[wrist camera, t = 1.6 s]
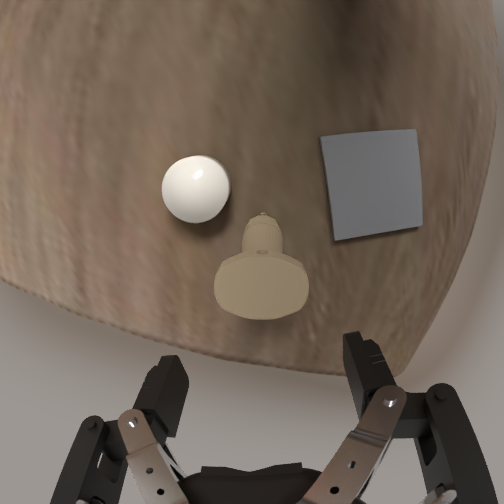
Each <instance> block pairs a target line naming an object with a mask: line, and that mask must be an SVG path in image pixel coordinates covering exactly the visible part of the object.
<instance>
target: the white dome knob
mask: <svg viewBox="0 0 504 504" xmlns="http://www.w3.org/2000/svg"><path fill="white" fill-rule="evenodd" d="M230 192H231V179H230V175H229V173H228V171H227V169H226V168H225V166H224V165H223V164H222V163H221V162H220V161H218V160H217V159H215V158H213V157H210V156H206V155H196V156H191V157H187V158H184V159H181V160H179V161H177V162H176V163H174V164H173V165H172V166H171V167H170V168H169V170H168V171H167V173H166V174H165V177H164V179H163V184H162V195H163V199H164V202H165V204H166V206H167V208H168V209H169V210H170V212H171V213H172V214H173V215H174V216H176V217H177V218H179V219H181V220H183V221H186V222H190V223H201V222H205V221H208V220H210V219H212V218H213V217H215V216H216V215H217V214H218V213H219V212H220V211H221V209H222V208H223V206H224V205H225V203H226V201H227V200H228V198H229V195H230Z"/></svg>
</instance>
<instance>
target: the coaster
mask: <svg viewBox="0 0 504 504" xmlns="http://www.w3.org/2000/svg"><path fill="white" fill-rule="evenodd" d="M319 141H320V147H321V153H322V159H323V165H324V171H325V178H326V185H327V192H328V199H329V207H330V215H331V224H332V233H333V239H334V240H335V241H336V240H342V239H348V238H354V237H360V236H365V235H371V234H377V233H383V232H388V231H394V230H400V229H406V228H411V227H417V226H423V218H422V186H421V171H420V159H419V149H418V141H417V133H416V129H403V130H384V131H369V132H357V133H347V134H337V135H329V136H320V137H319Z"/></svg>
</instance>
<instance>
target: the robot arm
mask: <svg viewBox="0 0 504 504" xmlns="http://www.w3.org/2000/svg"><path fill="white" fill-rule="evenodd" d="M343 361H344V368H345V371H346V375H347V378H348V382H349V385H350V389H351V392H352V395H353V400H354V403H355V407H356V411H357V414H358V418H359V423H358V425H357V427H356V428H355V430H354V431H351V432H350V433H349V434H348V435H347V437H346V438H345V440H344V441H343V443H342V445H341V446H340V448H339V449H338V451H337V452H336V454H335V455H334V457H333V458H332V460H331V461H330V462H329V464H328V465H327V467H326V468H325V470H324V471H323V472H320V471H317V470H313V469H307V468H302V463H301V462H300V463H292V464H283V465H274V466H271V467H268V468H264V469H260V470H256V471H252V472H247V471H241V470H236V469H232V468H227V467H207V466H202V468H201V472H200V473H196V474H193V475H190V476H187V475H186V474H185V473H184V471H183V470H182V469H181V467H180V465H179V464H178V462H177V460H176V459H175V457H174V456H173V454H172V452H171V450H170V449H169V447H168V445H167V443H166V442H165V441H166V438H167V437H174V438H175V436H176V432H177V428H178V425H179V421H180V417H181V414H182V410H183V406H184V402H185V398H186V395H187V392H188V388H189V379H188V376H187V373H186V371H185V369H184V367H183V365H182V363H181V361H180V359H179V357H178V356H177V355H170V356H169V355H168V356H162V357H161V359H160V361H159V364H158V366H154V367H153V368H152V369H151V370H150V371H149V372H148V373H147V376H146V378H145V382H144V383H143V385H142V388H141V390H140V392H139V394H138V397H137V399H136V401H135V404H134V406H133V408H132V409H130V410H127V411H125V412H124V413H122V414H121V415H120V417H119V419H118V420H114V421H107V422H104V421H103V419H101V417H99V416H90V417H88V418H86V419H85V420H84V421H83V422H82V424H81V426H80V429H79V431H78V433H77V435H76V438H75V440H74V442H73V445H72V447H71V449H70V452H69V454H68V457H67V459H66V462H65V464H64V467H63V469H62V472H61V474H60V477H59V480H58V482H57V485H56V488H55V491H54V494H53V496H52V499H51V502H50V504H118V503H119V499H120V495H121V490H122V487H123V483H124V479H125V475H126V471H127V467H128V464H129V467H130V469H131V471H132V474H133V476H134V479H135V481H136V483H137V485H138V487H139V489H140V492H141V494H142V496H143V498H144V500H145V502H146V504H366V503H365V502H363V501H362V500H361V497H362V495H363V494H364V492H365V491H366V489H367V487H368V485H369V484H370V482H371V481H372V479H373V477H374V475H375V473H376V471H377V469H378V467H379V466H380V464H381V462H382V460H383V458H384V456H385V454H386V452H387V450H388V448H389V446H390V444H391V442H392V440H393V438H414V442H415V446H416V449H417V453H418V456H419V460H420V465H421V468H422V473H423V477H424V481H425V485H426V490H427V496H426V497H425V498H424V499H423V500H422V501H421V502H420V503H419V504H498V500H497V497H496V494H495V490H494V486H493V483H492V480H491V477H490V473H489V470H488V468H487V465H486V462H485V459H484V456H483V453H482V451H481V448H480V445H479V443H478V441H477V438H476V435H475V433H474V431H473V428H472V426H471V423H470V421H469V419H468V416H467V414H466V412H465V410H464V408H463V406H462V403H461V401H460V399H459V397H458V395H457V393H456V391H455V389H454V388H453V387H452V386H450V385H448V384H445V383H439V384H435V385H433V386H431V387H430V388H429V389H428V391H427V392H426V393H409V392H405V391H404V390H403V389H402V388H401V387H398V386H397V385H396V383H395V381H394V378H393V376H392V374H391V371H390V369H389V367H388V365H387V363H386V361H385V358H384V356H383V355H382V352H381V350H380V347H379V345H378V344H376V343H375V342H374V341H373V340H371V339H369V340H365V341H363V339H362V337H361V334H360V332H359V331H356V332H351V333H346V334H343ZM101 452H102V453H103V455H102V458H101V461H100V464H99V467H98V468H97V464H98V461H99V458H100V455H101Z"/></svg>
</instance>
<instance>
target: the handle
mask: <svg viewBox="0 0 504 504" xmlns="http://www.w3.org/2000/svg"><path fill="white" fill-rule="evenodd" d="M214 292H215V297H216V300H217V302H218V303H219V305H220V306H221V307H222V309H224V310H226V311H228V312H231V313H233V314H235V315H238V316H240V317H244V318H248V319H276V318H280V317H284V316H286V315H289V314H292V313H294V312H297V311H299V310H300V309H301V308H302V307H303V305H304V304H305V302H306V300H307V297H308V292H309V282H308V277H307V274H306V271H305V269H304V267H303V265H302V264H301V262H299V261H298V260H296V259H294V258H292V257H290V256H288V255H285V254H283V238H282V233H281V230H280V228H279V226H278V224H277V222H276V220H275V219H274V218H271V217H269V216H267V215H266V213H260V214H259V215H258V216H256V217H254V218H251V219H250V220H249V222H248V224H247V226H246V228H245V230H244V233H243V237H242V250H241V253H240V254H237V255H234V256H232V257H230V258H228V259H226V260H224V261H223V262H222V263H221V265H220V267H219V269H218V271H217V273H216V276H215V281H214Z"/></svg>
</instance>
